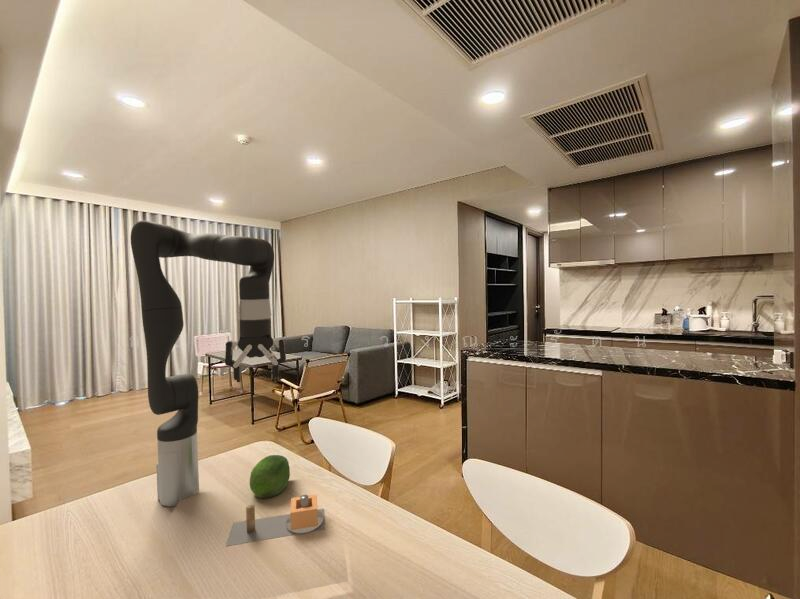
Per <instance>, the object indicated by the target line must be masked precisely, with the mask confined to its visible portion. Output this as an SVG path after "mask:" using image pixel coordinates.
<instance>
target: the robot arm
mask: <svg viewBox="0 0 800 599" xmlns="http://www.w3.org/2000/svg"><path fill="white" fill-rule="evenodd" d="M130 248H131V252H132V256H133V261H134V265H135V270H136V275H137V280H138V281H137V282H138V288H139V295H140V307H141V319H142V327H143V333H144V340H145V341H144V343H145V350H146V362H147V363H146V366H147V367H146V368H147V369H146V370H147V373H146V376H147V398H148V404H149V408H150V410H151V411H152V413H153V414H155V415H157V416H158V415H159V416H160V415H165V414H168V413H169V414H170V413H173V412H176V413H175V414H174V415H173V416H172V417H170V418H169V419H168V420H166V421H164V422H163V423H162V424H160V425H159V426H158V428H157V431H156V440H157V442H156V444H157V465H155V466H156V467H155V469H156V486H157V487H156V489H157V500H159V503H160V505H162V507H163V506H164V507H176V506H177V505H178V503H179V502H180V501H182V500H185V499H187V498H189V497H191V496H193V495H194V494H199V493H200V481H199V480H200V475H199V449H198V447H199V446H198V422H199V385H198V381H197V379H196V377H195V376H194V375H193V374H191V373H183V374H178V375H170V376H167V377H166V373H167V372H166V370H167V362H168V360H169V357H170V354H171V351H172V350H173V348H174V346H176V343H177V341H178V339H179V338H180V336H181V334H182V331H183V329H184V325H185V324H184V315H183V306H182V302H181V300H180V297H179V296H178V293H176V291H175V289H174V288H173V286H172V285H171V284H170V283H169V281H168V280H167V278H166V277H165V275H164V274H165V273H164V272H163V270H162V266H161V261H160V258H163V259H166V258H167V259H168V258H179V257H194V258H199V259H203V260H208V261H213V262H221V263H230V264H233V265H238V266H239V265H240V266H249V272H248V274H247V275H245V276H242V277H240V279H239V281H238V282H239V283H238V284H239V287H238V289H239V294H238V295H239V304H238V324H239V325H238V326H239V339H238V340H237V341H234V340H228V341H227V342H226V343H225V355H224V358H225V361H224V364H225V366H227V367H232V368H233V379H234V381H236V383H241V382H242V372H241V371H242V367H241V364H242V362H243V361H244V360H245V359H246V357H247V358H249V359H252V358H263V357H264V356H265V357H266V358H267V360H269V361H270V362H271V363H272V367H271V368H272V369H271V370H272V371H271V372H272V380H273V381H276V380H277V378H278V377H279V374H280V371H279V370H280V368H279V367H280V366H279V365H281V364H282V363H285V362H286V359H287V356H286V355H287V354H286V344H285V339H284V338H283V337H281V338H279V339H278V338H277V339H273V337H272V311H271V310H272V308H271V303H270V280H271V276H272V272H273V267H274V262H275V252H274V248H273V246H272V245H271V243H270V242H269V241H268V240H265V239H263V238H261V239H260V238H255V237H250V236H241V235H228V234H222V233H221V234H219V233H211V232H209V233H208V232H204V233H190V232H187V231H184V230H181V229H177V228H175V227H172V226H171V225H168V224H163V223H158V222H155V221H149V220H139V221H137V222H136V223H134V225H133V226H132V228H131V231H130ZM273 345H275V346H276V348H277V349H278V348H279V357H277V356H276V355H275V353H274V352H273V350H272V349H271V348H272V347H273ZM236 347H238V348H239V349H240V350H241V354H240V355H239V356H238V358H237V359H236V360H233V358H234V357H233V352H234V350H235V349H236Z"/></svg>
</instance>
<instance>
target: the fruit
mask: <svg viewBox="0 0 800 599" xmlns="http://www.w3.org/2000/svg"><path fill="white" fill-rule="evenodd" d="M290 472H291V471H290V465H289V460H288V458H287V457H285V456H283V455H279V454H277V455H276V454H273V455H268V456H266V457H263V458H262V459H261V460H259V462H257V463H256V465H255V466H254V467H253V468H252V470H251V472H250V477H249V488H250V491H251V492H252V493H253V494H254V496H255V497H257V498H260V499H270V498H273V497H275V496H277V495H279V494H281V493H282V492H283V490H284V489H285V488H286V487H287V485H288V483H289V479H290V476H291V473H290Z"/></svg>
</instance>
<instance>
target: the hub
mask: <svg viewBox="0 0 800 599" xmlns="http://www.w3.org/2000/svg"><path fill="white" fill-rule="evenodd" d="M308 496H309V495H308V494H303V495H301V496H299V497H300V501H301V508H306V507H309V504H308ZM324 518H325V516H324V517H323V514H322V513H321V512H320V511H319V509H318V526H313V527H307V528H301V529H295V530H291V523H290V516H289V517H288V519H287V520H286V528H287V530H288V531H289V532H291V533H294V534H296V535H306V534H308V533H313V532H312V531H314V530H316V529H318V528H319V527H320V526H321V525H322V523H323V520H324ZM314 532H315V531H314Z"/></svg>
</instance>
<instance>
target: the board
mask: <svg viewBox="0 0 800 599" xmlns="http://www.w3.org/2000/svg"><path fill="white" fill-rule="evenodd" d="M318 510H319V511H320V512H321V513H322V514H323V517H324V520H323V523H322V525H321V526H320V527H319V528H318V529H316V530H314V531H312V532H311V533H313V532H319V531H323V530H326V519H325V508H321V509H318ZM289 516H290V513H288V514H287V513H286V514H281V515H275V516H268V517H261V518H255V531H254V532H252V533H247V523H246V520H242V521H237V522H232V525H231V527H230V531H229V534H228V537H227V541H226V544H225V547H231V546H236V545H242V544H248V543H253V542H259V541H265V540H272V539H276V538H283V537H289V536H295V535H297V534H294V533H291V532H289V531H288V530H287V528H286V520H287V519H288V517H289Z"/></svg>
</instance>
